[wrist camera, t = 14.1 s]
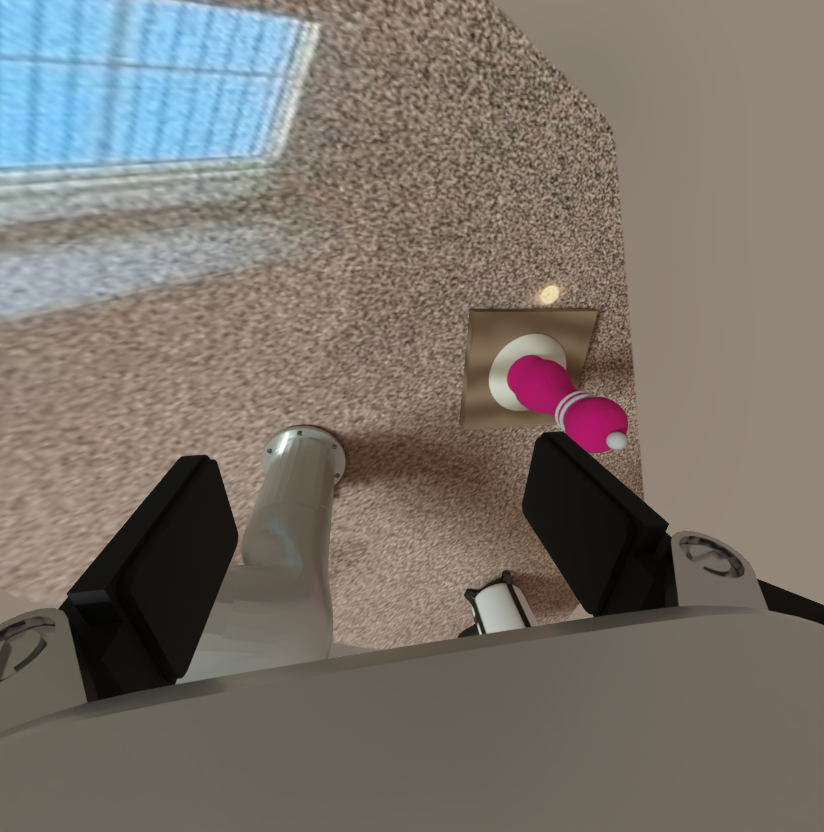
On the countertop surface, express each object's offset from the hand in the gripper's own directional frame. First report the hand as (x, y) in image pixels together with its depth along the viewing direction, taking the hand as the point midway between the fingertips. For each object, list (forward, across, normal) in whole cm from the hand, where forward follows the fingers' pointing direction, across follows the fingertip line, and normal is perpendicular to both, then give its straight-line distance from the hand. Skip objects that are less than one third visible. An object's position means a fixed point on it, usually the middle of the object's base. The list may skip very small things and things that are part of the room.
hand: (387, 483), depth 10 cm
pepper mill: (+36, -24, +10) cm, 44 cm away
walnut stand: (+38, -24, +10) cm, 46 cm away
